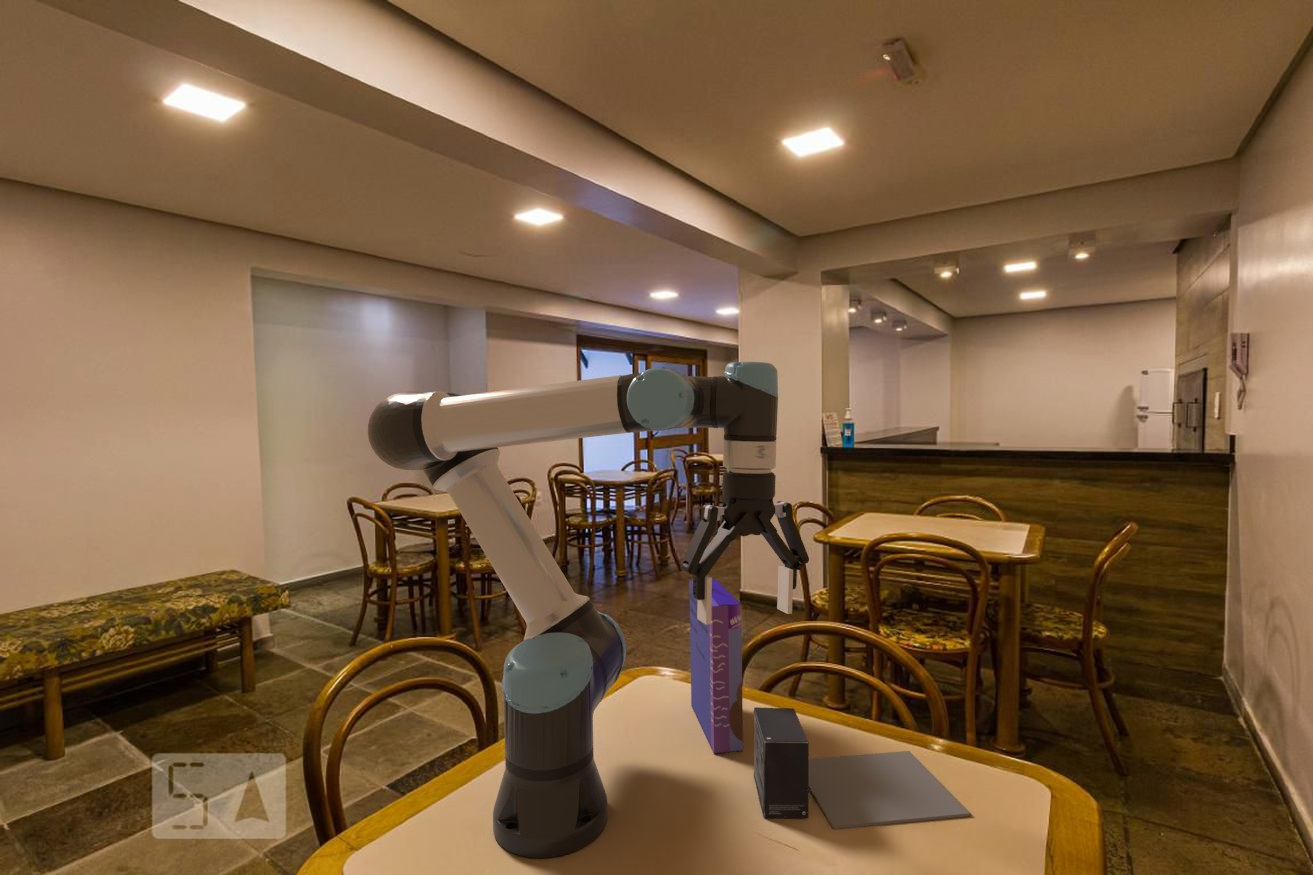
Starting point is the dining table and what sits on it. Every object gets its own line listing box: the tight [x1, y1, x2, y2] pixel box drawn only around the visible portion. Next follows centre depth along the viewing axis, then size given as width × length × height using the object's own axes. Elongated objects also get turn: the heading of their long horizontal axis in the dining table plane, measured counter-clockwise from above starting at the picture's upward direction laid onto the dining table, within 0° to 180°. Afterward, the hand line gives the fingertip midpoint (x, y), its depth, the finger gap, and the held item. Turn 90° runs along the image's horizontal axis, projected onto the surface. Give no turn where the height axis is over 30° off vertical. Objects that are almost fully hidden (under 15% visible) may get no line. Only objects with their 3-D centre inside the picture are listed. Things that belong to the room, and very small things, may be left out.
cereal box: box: [688, 577, 744, 755], centre depth 109 cm, size 17×5×24 cm, turn 9°
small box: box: [753, 706, 810, 819], centre depth 89 cm, size 11×6×10 cm, turn 179°
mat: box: [808, 750, 972, 830], centre depth 91 cm, size 19×16×1 cm
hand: (745, 616), depth 92 cm, fingers open, 13 cm apart
